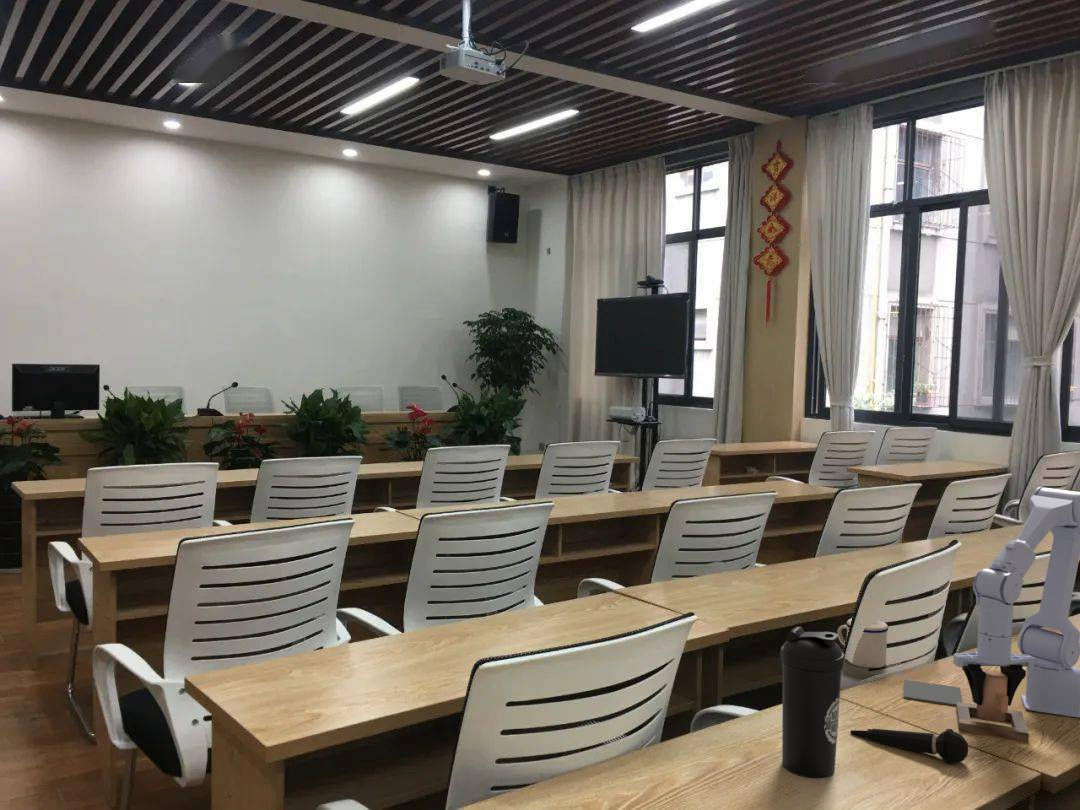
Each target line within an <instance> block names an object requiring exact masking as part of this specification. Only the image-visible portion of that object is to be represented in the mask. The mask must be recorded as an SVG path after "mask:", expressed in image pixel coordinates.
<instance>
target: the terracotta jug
mask: <svg viewBox="0 0 1080 810" xmlns="http://www.w3.org/2000/svg"><path fill="white" fill-rule="evenodd" d="M982 671H984V672H985V673H986V674H987V675H986V677H985V681H984V686H983V700H982V705H977V704H976V705H977V715H978V716H977V717H979V718H981V719H983V720H987V721H992V722H1004V721H1007V720H1006V713H1008V710H1009V709H1008V708H1009V706H1008V696H1007V683H1008V676H1007V675H1005V674H1003V673H1001V671H1000V672H999V671H996V670H989V669H982Z"/></svg>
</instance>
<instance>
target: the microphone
mask: <svg viewBox="0 0 1080 810" xmlns="http://www.w3.org/2000/svg"><path fill="white" fill-rule="evenodd" d="M849 733H850V735H854V736H857V737H860V738H863V739H864V738H865V739H867V740H868V739H869V740H868V741H872V742H873V741H874V743H878V742H879V744H883V745H886V744H887V745H886V746H890V745H891V746H890V747H896V748H900V749H905V750H909V751H913V750H914V752H920V753H924V754H929V755H934V756H935V755H937V754H938V755H939V756H940V758H941V760H944V762H945V763H947V764H951V765H953V764H955V763H962V762H963V761H964V760H965V759H966V758H967V757H968V754H969V744H968V741H967V740H966V739H965V738H964V736H963V735H962V734H960V733H959V732H956V731H954V730H953V729H951V728H946V729H945V730H944V731H942V732H940V733H939V735H937V734H936V733H931V732H917V731H904V730H895V729H894V730H893V729H881V728H868V729H867V730H863V729H862V730H860V729H859V730H850V732H849Z"/></svg>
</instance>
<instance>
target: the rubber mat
mask: <svg viewBox="0 0 1080 810" xmlns="http://www.w3.org/2000/svg"><path fill="white" fill-rule="evenodd" d="M961 690H962V689H961V687H960V686H959V687H958V686H952V685H944V684H939V683H938V684H937V683H932V682H923V681H917V680H910V679H903V699H906V700H911V699H912V700H913V701H918V700H920V701H919V702H925V701H926V702H925V703H933V704H939V705H947V706H952V707H956V702H961V703H963V698H962V697H963V696H962V691H961Z"/></svg>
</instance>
